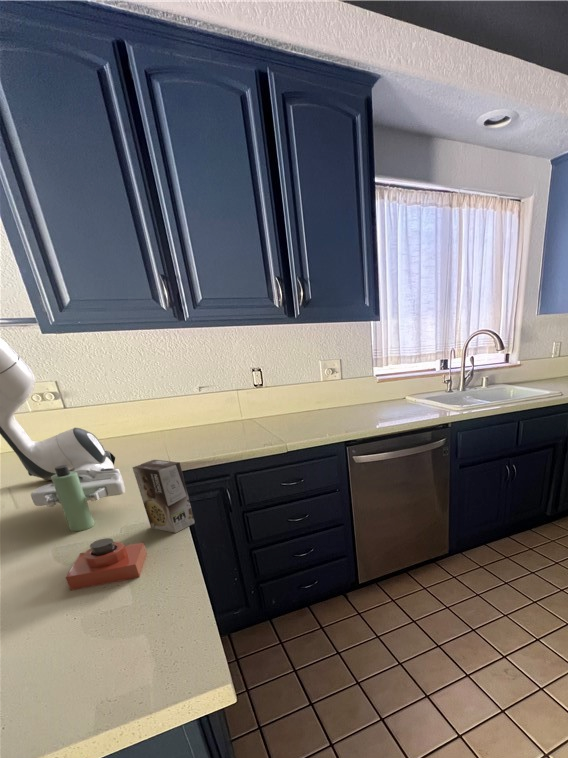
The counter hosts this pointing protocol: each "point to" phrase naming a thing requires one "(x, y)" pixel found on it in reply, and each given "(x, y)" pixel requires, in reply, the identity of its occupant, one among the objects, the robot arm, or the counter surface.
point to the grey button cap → (102, 547)
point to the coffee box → (164, 495)
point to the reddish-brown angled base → (107, 566)
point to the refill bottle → (72, 499)
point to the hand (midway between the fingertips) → (71, 500)
